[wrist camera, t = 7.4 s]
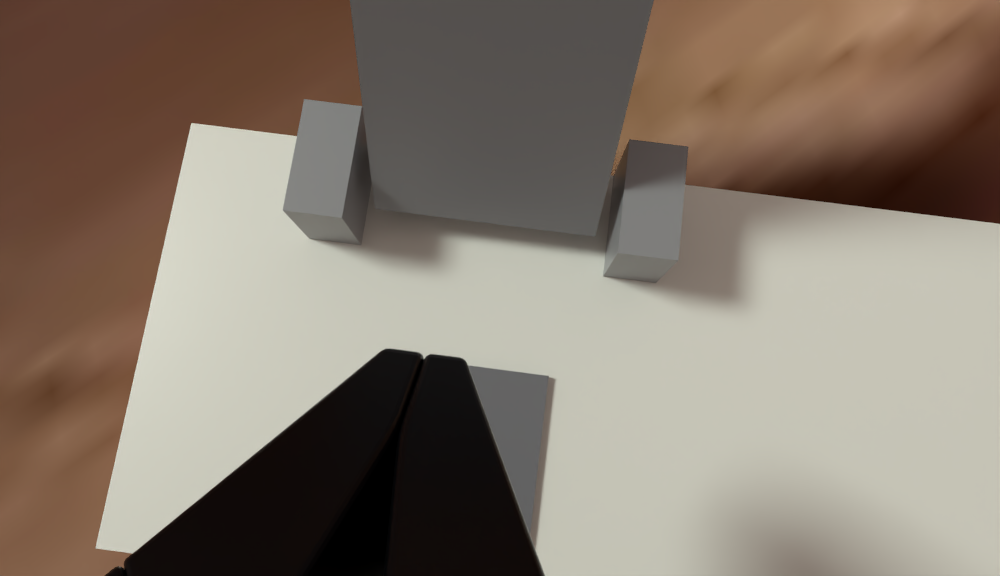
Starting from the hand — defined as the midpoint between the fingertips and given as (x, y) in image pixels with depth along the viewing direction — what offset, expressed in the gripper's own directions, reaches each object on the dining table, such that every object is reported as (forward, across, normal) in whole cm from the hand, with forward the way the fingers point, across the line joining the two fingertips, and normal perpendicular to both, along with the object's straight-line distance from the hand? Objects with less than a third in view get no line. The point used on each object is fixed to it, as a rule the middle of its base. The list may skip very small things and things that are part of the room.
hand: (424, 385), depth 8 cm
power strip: (+6, -7, +5) cm, 10 cm away
